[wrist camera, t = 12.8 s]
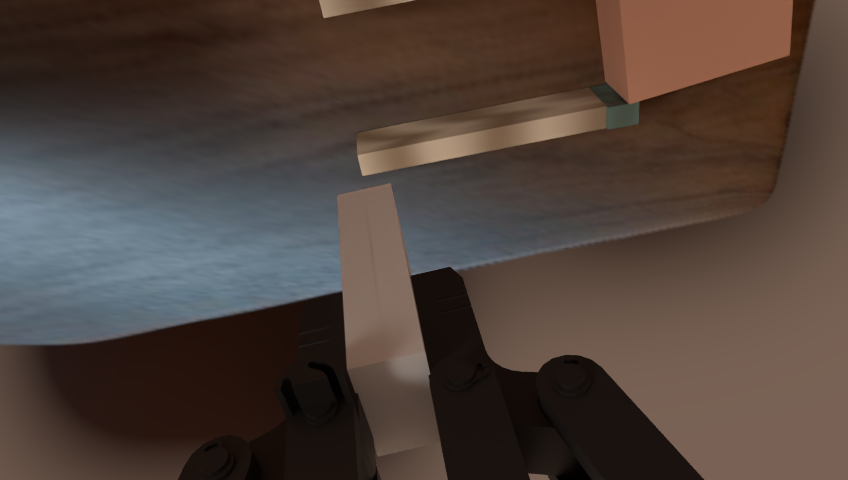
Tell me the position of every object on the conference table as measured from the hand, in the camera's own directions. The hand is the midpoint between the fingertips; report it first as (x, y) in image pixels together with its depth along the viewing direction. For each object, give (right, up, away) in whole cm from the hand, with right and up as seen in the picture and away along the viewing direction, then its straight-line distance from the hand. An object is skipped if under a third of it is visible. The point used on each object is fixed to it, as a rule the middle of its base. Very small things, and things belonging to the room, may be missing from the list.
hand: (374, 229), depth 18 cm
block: (+18, +15, +22) cm, 32 cm away
